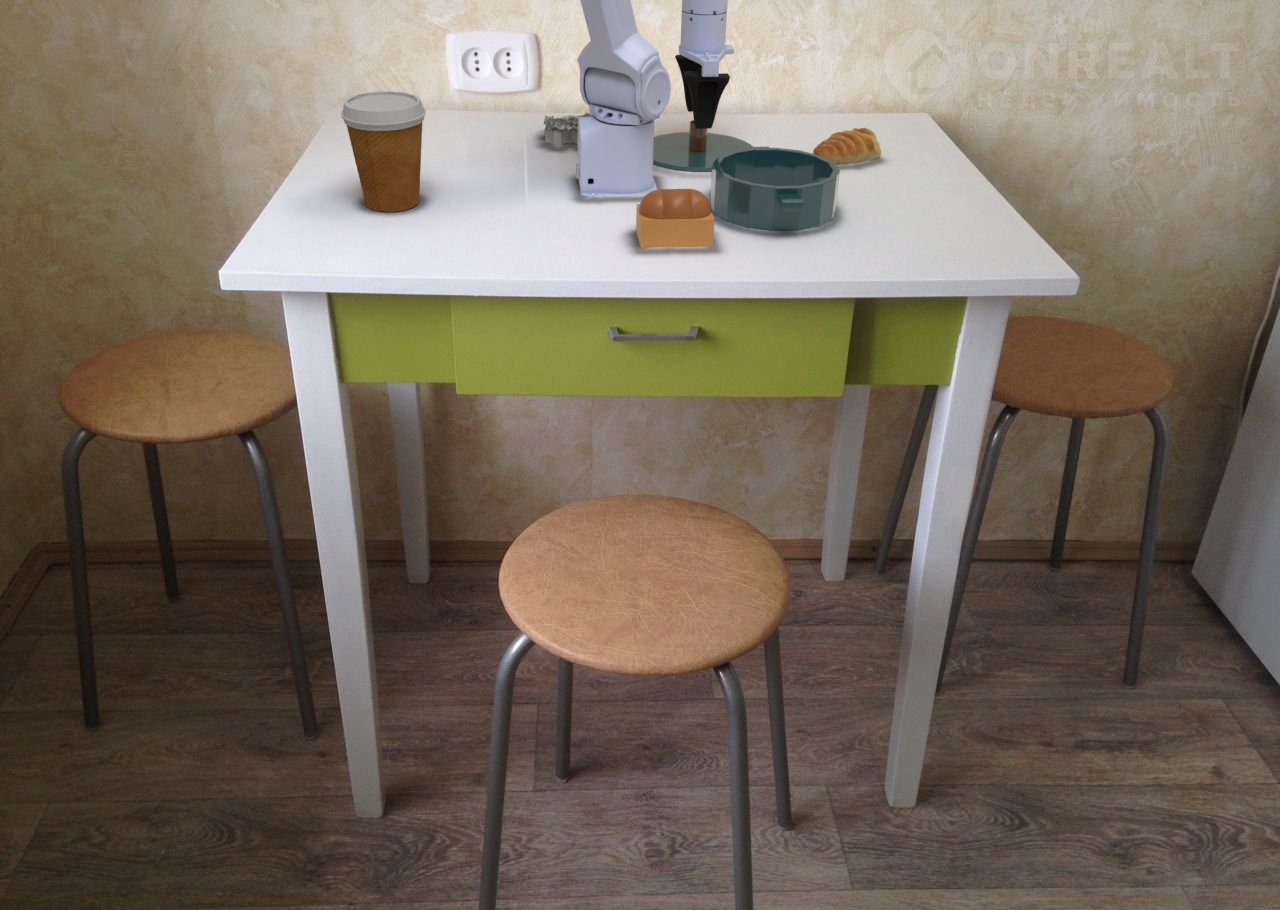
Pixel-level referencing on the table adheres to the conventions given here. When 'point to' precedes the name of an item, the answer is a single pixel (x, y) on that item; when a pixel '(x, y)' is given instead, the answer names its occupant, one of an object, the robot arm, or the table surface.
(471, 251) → the table surface
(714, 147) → the lid
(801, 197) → the pot
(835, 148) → the pastry
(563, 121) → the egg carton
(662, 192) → the bread
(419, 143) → the disposable coffee cup
